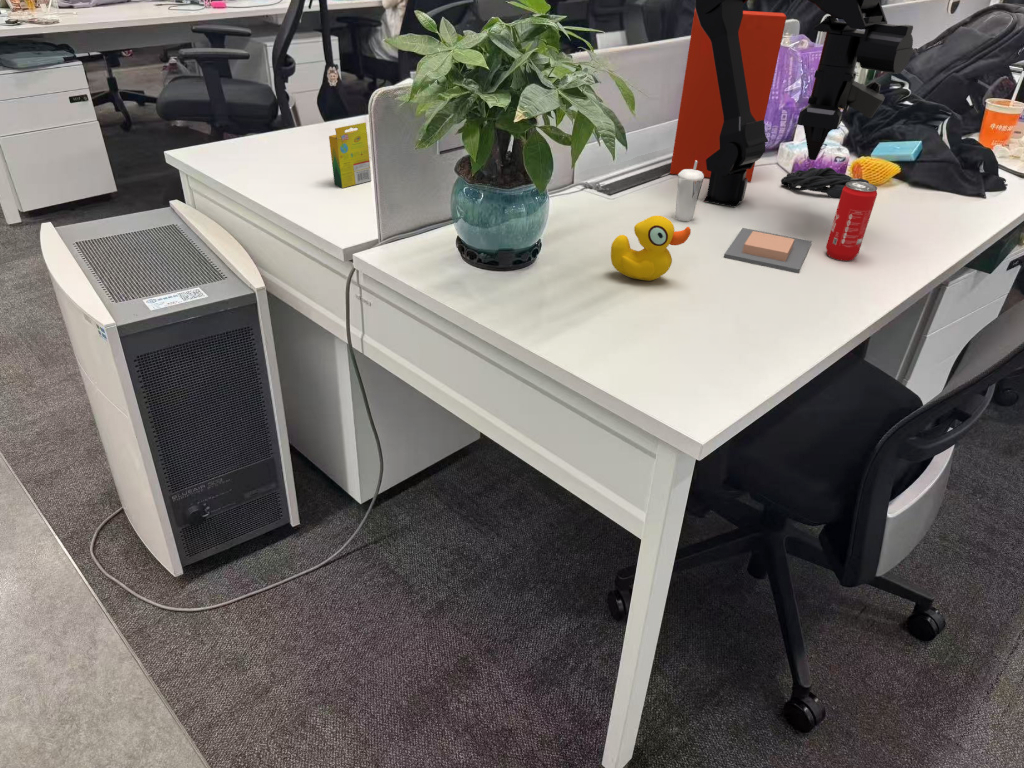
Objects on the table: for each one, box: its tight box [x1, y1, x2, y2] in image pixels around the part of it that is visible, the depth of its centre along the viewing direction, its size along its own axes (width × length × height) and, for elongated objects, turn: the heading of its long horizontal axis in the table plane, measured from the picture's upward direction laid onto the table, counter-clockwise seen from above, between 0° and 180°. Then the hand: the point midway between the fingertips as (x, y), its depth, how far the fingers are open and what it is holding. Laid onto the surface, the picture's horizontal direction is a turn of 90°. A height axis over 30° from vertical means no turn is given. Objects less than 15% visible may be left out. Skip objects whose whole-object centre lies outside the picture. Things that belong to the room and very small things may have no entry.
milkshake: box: [674, 161, 705, 222], centre depth 132 cm, size 4×5×10 cm
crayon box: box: [328, 121, 372, 189], centre depth 142 cm, size 7×3×12 cm, turn 136°
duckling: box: [610, 215, 692, 282], centre depth 109 cm, size 11×5×10 cm, turn 78°
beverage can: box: [825, 181, 878, 262], centre depth 118 cm, size 5×5×12 cm
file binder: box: [669, 8, 787, 183], centre depth 150 cm, size 8×17×32 cm, turn 77°
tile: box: [742, 231, 795, 262], centre depth 121 cm, size 7×2×7 cm
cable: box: [780, 166, 870, 199], centre depth 152 cm, size 17×14×4 cm
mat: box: [723, 227, 812, 274], centre depth 122 cm, size 12×14×1 cm
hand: (812, 159), depth 127 cm, fingers closed
